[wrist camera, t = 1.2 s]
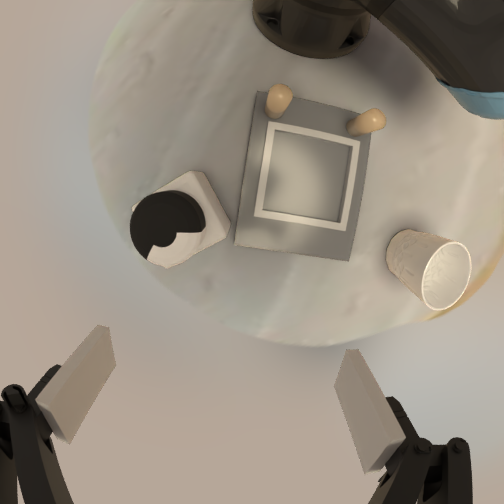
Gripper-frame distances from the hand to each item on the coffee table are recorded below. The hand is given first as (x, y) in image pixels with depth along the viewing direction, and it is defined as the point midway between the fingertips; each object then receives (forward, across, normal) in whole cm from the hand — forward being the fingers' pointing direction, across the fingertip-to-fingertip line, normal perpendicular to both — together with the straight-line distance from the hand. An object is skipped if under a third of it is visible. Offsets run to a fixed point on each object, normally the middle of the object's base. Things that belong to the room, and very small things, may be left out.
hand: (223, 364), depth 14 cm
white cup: (+21, +22, +2) cm, 31 cm away
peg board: (+20, +7, +10) cm, 24 cm away
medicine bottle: (+21, -6, +5) cm, 22 cm away
